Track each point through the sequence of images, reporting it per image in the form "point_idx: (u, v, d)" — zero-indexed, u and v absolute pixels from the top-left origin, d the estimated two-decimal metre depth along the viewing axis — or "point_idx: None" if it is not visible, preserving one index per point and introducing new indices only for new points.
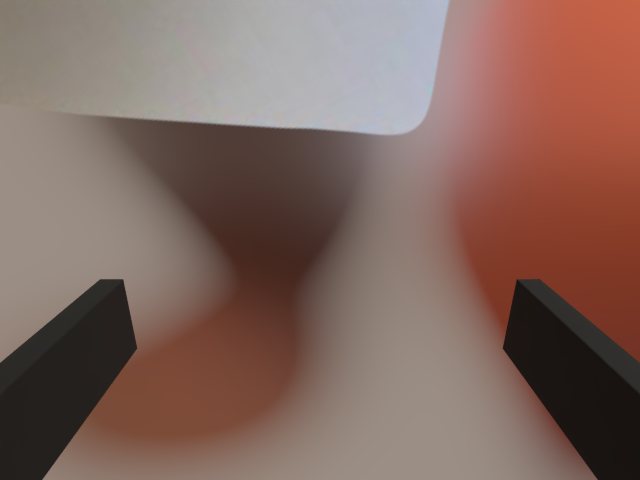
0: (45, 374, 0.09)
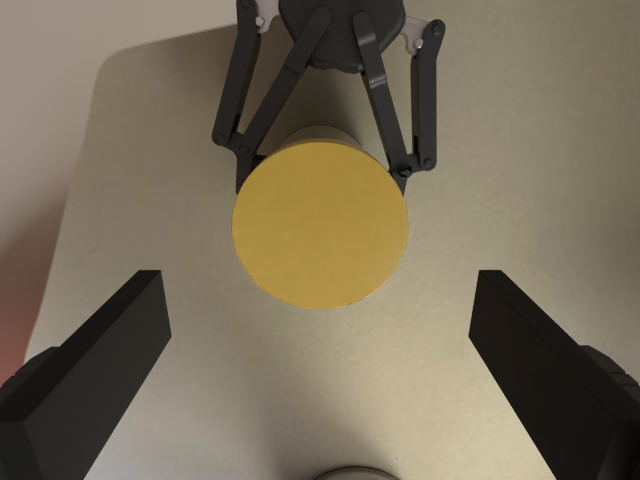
0: (102, 355, 0.10)
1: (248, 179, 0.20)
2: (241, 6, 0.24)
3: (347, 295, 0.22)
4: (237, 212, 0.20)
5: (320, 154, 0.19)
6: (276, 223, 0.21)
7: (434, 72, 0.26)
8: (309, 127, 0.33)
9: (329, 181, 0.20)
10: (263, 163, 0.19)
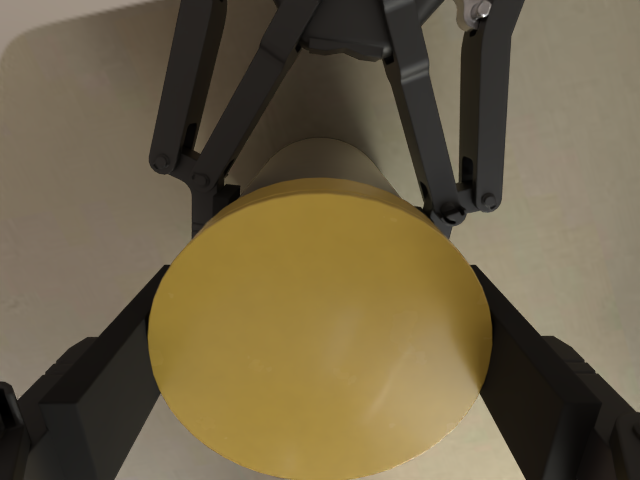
0: (138, 344, 0.10)
1: (174, 266, 0.10)
2: None
3: (370, 461, 0.12)
4: (157, 325, 0.10)
5: (321, 217, 0.09)
6: (235, 344, 0.11)
7: (507, 57, 0.16)
8: (304, 141, 0.23)
9: (339, 269, 0.10)
10: (203, 235, 0.09)
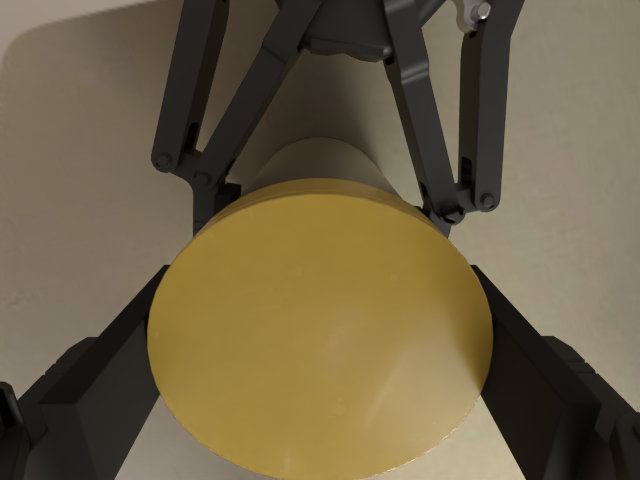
0: (138, 344, 0.10)
1: (254, 470, 0.12)
2: None
3: (454, 287, 0.10)
4: (313, 477, 0.12)
5: (177, 384, 0.11)
6: (319, 427, 0.12)
7: (506, 59, 0.16)
8: (305, 141, 0.23)
9: (218, 364, 0.11)
10: (221, 456, 0.12)
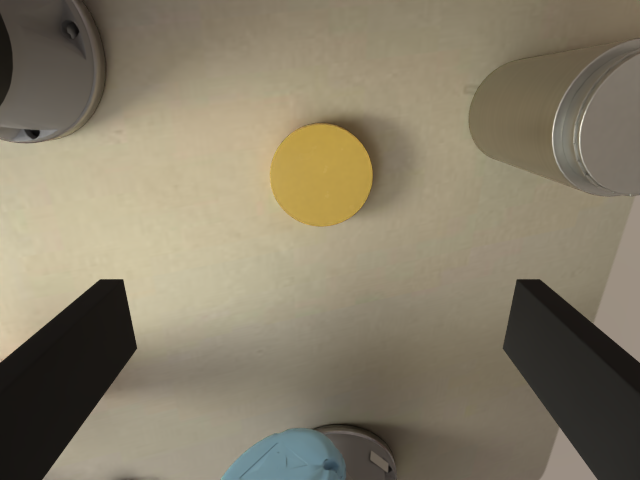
0: (45, 374, 0.09)
1: (299, 220, 0.37)
2: None
3: (359, 152, 0.35)
4: (319, 223, 0.37)
5: (277, 186, 0.36)
6: (321, 202, 0.37)
7: None
8: None
9: (290, 178, 0.36)
10: (289, 214, 0.37)
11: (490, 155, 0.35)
